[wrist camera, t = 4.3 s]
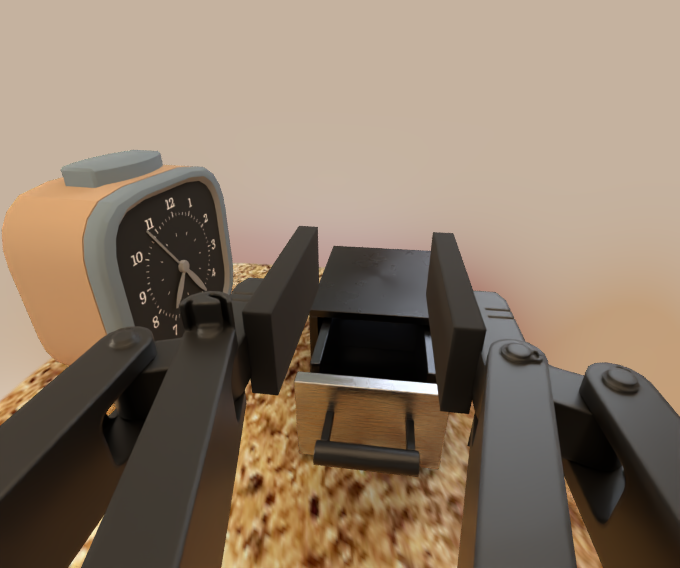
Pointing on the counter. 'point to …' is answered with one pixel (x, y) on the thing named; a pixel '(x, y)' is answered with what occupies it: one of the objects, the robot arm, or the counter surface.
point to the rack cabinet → (372, 287)
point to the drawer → (371, 398)
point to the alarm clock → (116, 248)
